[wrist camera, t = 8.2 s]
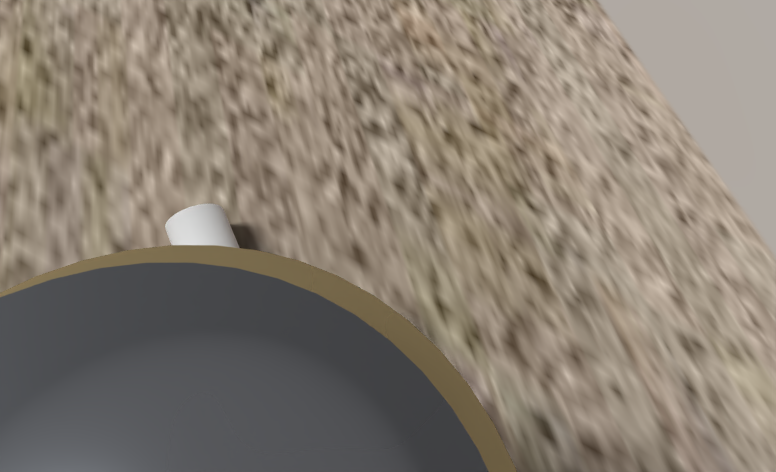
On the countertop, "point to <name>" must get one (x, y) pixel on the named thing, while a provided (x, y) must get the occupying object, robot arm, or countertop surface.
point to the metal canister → (225, 372)
